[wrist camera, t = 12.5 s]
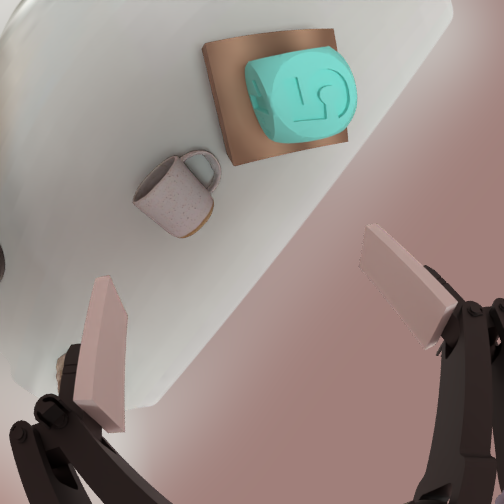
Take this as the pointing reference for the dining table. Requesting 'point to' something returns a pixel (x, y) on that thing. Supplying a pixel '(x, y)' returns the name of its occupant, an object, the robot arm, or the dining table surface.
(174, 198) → the ceramic mug
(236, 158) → the walnut block
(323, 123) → the decorative dice
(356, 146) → the dining table surface
